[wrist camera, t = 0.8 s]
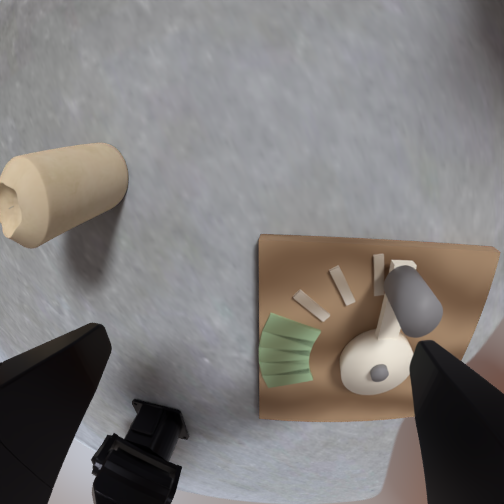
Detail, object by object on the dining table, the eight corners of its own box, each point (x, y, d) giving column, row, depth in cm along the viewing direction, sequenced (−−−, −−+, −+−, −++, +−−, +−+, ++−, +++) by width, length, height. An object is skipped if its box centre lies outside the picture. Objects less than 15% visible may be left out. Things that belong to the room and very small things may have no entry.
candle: (129, 213, 21) (37, 266, 12) (78, 207, 21) (-10, 250, 12) (130, 141, 19) (25, 157, 10) (77, 143, 19) (-21, 162, 10)
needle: (397, 380, 22) (410, 426, 17) (334, 382, 22) (337, 431, 18) (436, 258, 17) (471, 296, 12) (357, 255, 18) (376, 297, 13)
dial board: (428, 406, 24) (431, 415, 23) (260, 409, 27) (258, 420, 26) (492, 246, 17) (502, 253, 16) (260, 234, 20) (257, 241, 19)
